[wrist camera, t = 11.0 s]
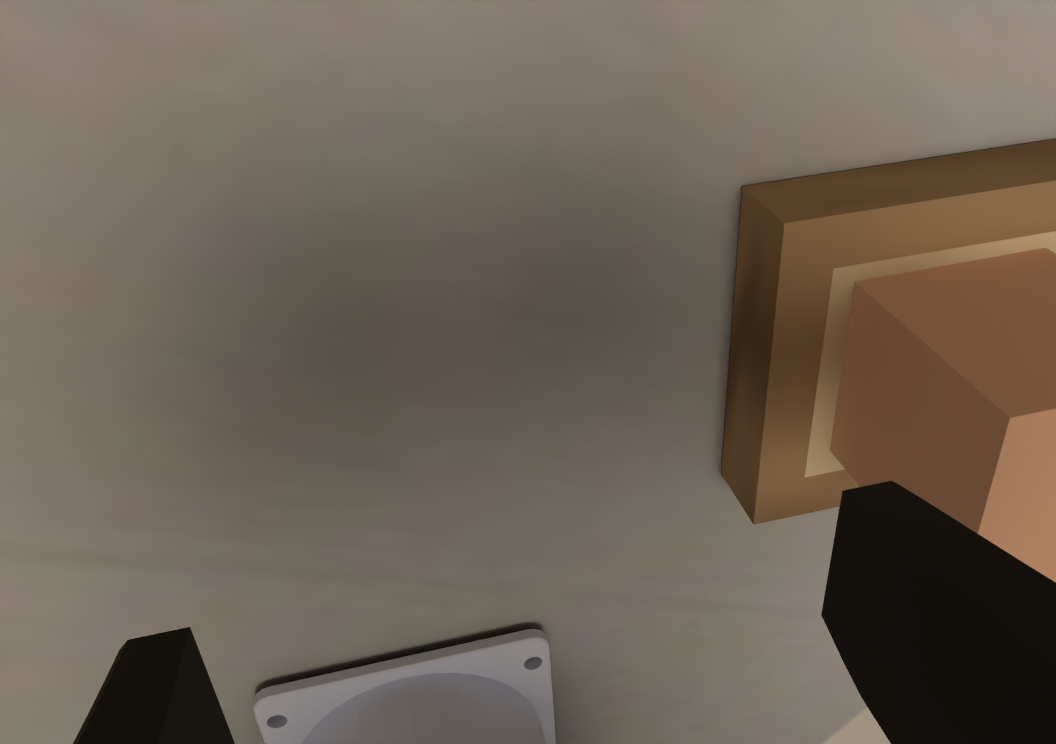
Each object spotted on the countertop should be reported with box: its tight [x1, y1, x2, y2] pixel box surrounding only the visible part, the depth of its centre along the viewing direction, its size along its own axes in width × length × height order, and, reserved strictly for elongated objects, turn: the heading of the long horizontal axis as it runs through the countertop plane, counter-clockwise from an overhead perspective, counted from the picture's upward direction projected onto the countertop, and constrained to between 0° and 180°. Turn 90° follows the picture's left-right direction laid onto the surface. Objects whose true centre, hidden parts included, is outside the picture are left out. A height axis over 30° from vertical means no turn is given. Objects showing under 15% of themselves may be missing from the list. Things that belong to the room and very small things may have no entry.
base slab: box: [721, 139, 1056, 524], centre depth 22 cm, size 8×8×2 cm
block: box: [830, 248, 1056, 582], centre depth 19 cm, size 4×4×5 cm
